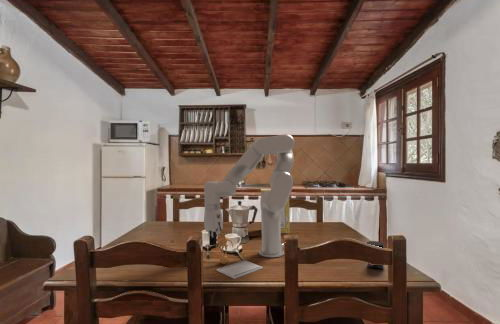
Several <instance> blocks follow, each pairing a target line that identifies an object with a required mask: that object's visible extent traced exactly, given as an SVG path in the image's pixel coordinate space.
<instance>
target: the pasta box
mask: <svg viewBox="0 0 500 324" xmlns="http://www.w3.org/2000/svg"><path fill="white" fill-rule="evenodd" d="M270 190H271V188H260V197H261V196H262V195H263V193H265V192H266V191H270ZM260 218H261V227H260V228H261V230H262V215H261V214H260ZM280 219H281V223H280V224H281V234H290V233H291V232H290V231H291V229H290V227H291V225H290V224H291V223H290V197H289V198H288V200H287V203H286V205H285V207H284V209H283V210H282V211H280Z"/></svg>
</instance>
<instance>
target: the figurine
mask: <svg viewBox="0 0 500 324" xmlns="http://www.w3.org/2000/svg"><path fill="white" fill-rule="evenodd" d="M220 242H222V243H223V244H221V252H222V253H221V255H220V256H219V263H221V264H222V265H227V263H228V262H229V257H228V256H227V252H228V244H227V243H228V242H230V244H231V246H232V247H231V248H232V249H233V248H234V244H233V241H232V240H231V239H229V238H227V237H226V236H223V238H221V239H219V240H217V244H216V245H215V247H218V246H217V245H218V244H219V243H220ZM224 249H225V253H224Z"/></svg>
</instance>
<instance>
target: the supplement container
mask: <svg viewBox="0 0 500 324" xmlns="http://www.w3.org/2000/svg"><path fill="white" fill-rule="evenodd" d="M367 244H371V245H375V246H379V247H382V248H384V249H385V245H384V242H382V241H375V240H369V241H366V245H367ZM366 265H367V267H368V268H369V269H372V270H383V269H384V267H385V264H384V265H372V264H369V263H366Z"/></svg>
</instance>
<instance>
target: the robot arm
mask: <svg viewBox="0 0 500 324" xmlns="http://www.w3.org/2000/svg"><path fill="white" fill-rule="evenodd" d="M295 144H296V141H295V139H294V137H293V136H292V135H290V134H280V135H273V136H265V137H260V138H257V139H255V140H254V141H252V143H251V144H250V146H248V148H247V150H246V151H245V152H244V153H243V154H242V156H241V157H240V158H239V160H237V162H236V163H235V164H234V166H233V167H232V168H231V169H230V170H229V172H228V173H227V174H226V175H225V176H224V178H222V180H221V181H220V182H219V181H213V180H212V181H210V180H209V181H206V182H204V185H203V191H204V197H203V198H204V216H203V228H204V229H205V231H206V232H207V235H208V240H209V242H208V244H209V246H211V247H212V246H216V244H217V243H218V240H217V238H218V235H221V231H223V230H224V228H223V227H224V225H223V224H224V221H223V216H222V215H223V214H222V209H221V197H233V196H234V195H235V194H236V192H237V185H239V183H240V182H241V181H242V180H243V179H244V178H245V177H246V176H248V175H249V174H251V173H252V172H253V171H254V169H255V168H256V167H257V165H258V164H259V163H260V161H261V160H262V159H263V158H264V157H265V156H269V155H276V156H277V158H276V162H275V164H274V165H275V166H274V168H273V170H272V172H271V175H270V177H269V185H270V186H271V188H270V189H271V190H270V191H266V192H265V193H263V195H262V196H261V195H260V202H259V203H260V204H259V205H260V216H261V215H262V229H261V249H259V251H258V254H259V256H261V257H263V258H264V257H265V258H280V257H282V256H284V255H285V251H284V250H283V248H285V247H284V243H285V242H284V243H281V242H282V241H281V239H282V237H281V235H282V233H281V224H280V223H281V219H280V211H282V210H283V209H284V207H285V205H286V203H287V200H288V198H289V199H290V195H291V192H292V191H293V186H294V179H293V176H292V174H291V173H292V170H293V169H292V168H293V166H294V162H295V155H294V151H293V150H294V148H295ZM217 245H218V244H217Z"/></svg>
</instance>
